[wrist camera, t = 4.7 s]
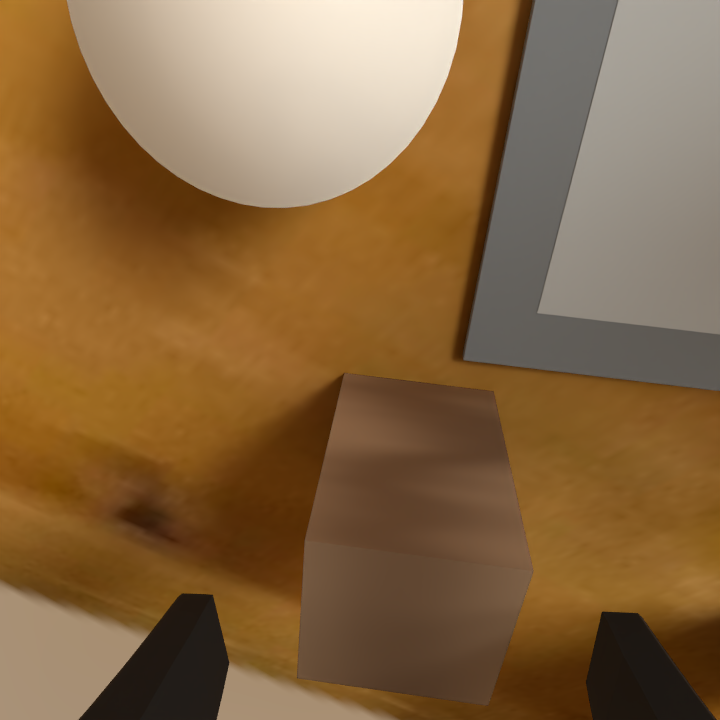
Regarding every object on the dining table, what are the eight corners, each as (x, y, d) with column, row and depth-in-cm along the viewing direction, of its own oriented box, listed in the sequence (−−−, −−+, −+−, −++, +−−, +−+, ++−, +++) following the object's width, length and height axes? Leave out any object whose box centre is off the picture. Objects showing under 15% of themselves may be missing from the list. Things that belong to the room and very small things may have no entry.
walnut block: (493, 391, 15) (533, 570, 10) (466, 504, 17) (488, 706, 12) (344, 372, 15) (304, 540, 10) (334, 487, 17) (296, 678, 12)
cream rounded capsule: (467, -131, 10) (497, -278, 6) (434, 163, 12) (436, 222, 8) (192, -143, 10) (19, -289, 6) (211, 146, 13) (97, 193, 8)
